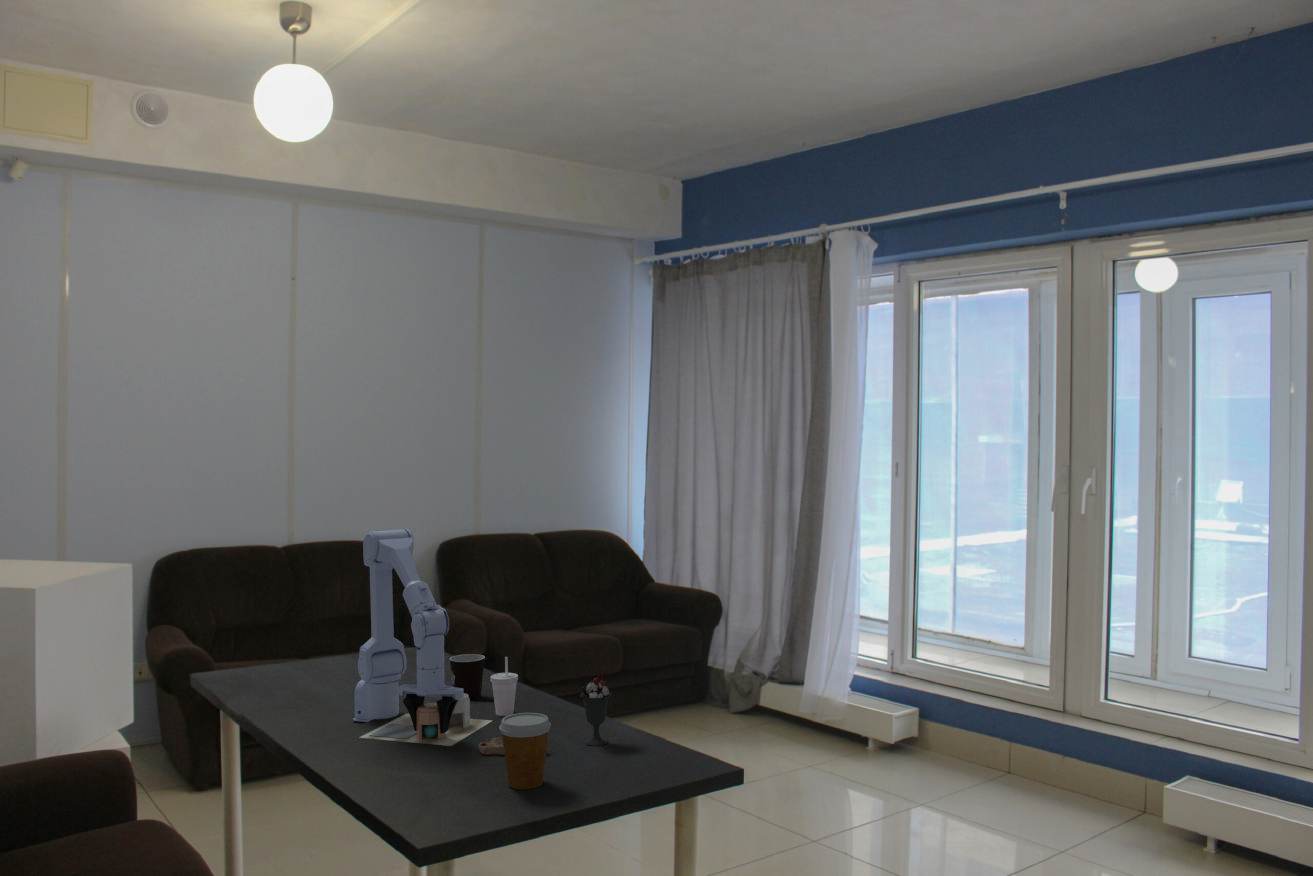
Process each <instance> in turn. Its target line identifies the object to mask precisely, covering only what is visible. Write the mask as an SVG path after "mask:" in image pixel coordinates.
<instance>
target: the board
mask: <svg viewBox="0 0 1313 876" xmlns="http://www.w3.org/2000/svg"><path fill="white" fill-rule="evenodd" d="M492 722H493V720H492V719H491V720H489V719H477V718H470V726H468V727H466V728H463V723H452V724H449V727H448V731H447V732H446V737H445V738H443V739H441V740H438V734H437V735H436V736H435V737H433V738H429V737H427V736H426V735H424V736H422V741H419V740H418V739H417V731H414V727H413V723H412V719H411V717H410V714H409V713H405V714H403V715H401V716H398V717H397V718H394V719H393V720H391V721H389V722H387V723H385V724H382V725H381V726H378V727H377V728H375V729H373V730H371V731H369V732H367V733H365V734H363V735H361V736H359V738H358V739H367V740H368V739H370V740H381V741H391V742H392V741H393V742H400V743H401V742H403V743H412V744H413V743H415V744H425V745H437V746H445V747H446V746H447V747H453V746H454V745H456V744H457V743H459V742H461V741H462V740H464V739H465V738H467V737H468V736H470V735H472V734H473V733H475V732H477V731H479V730H480V729H482V728H484V727H485V726H486V725H488V724H490V723H492Z"/></svg>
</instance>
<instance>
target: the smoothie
mask: <svg viewBox="0 0 1313 876" xmlns="http://www.w3.org/2000/svg"><path fill="white" fill-rule="evenodd" d="M508 660H509V659H508V656H505V657H504V661H505V662H504V665H505V666H504V667H505V668H504V670H505V671H504V672H499V673H494V674H492V675H491V676H490V682H491V684H492V685H491V687H492V693H493V694H492V695H493V700H494V709H495V715H496V716H499V717H506V716H508V715H512V714H514V710H515V702H516V701H515V700H516V691H517V684H518V683H517V682H518V680H519V675H518V673H513V672H509V670H508V669H509V668H508V667H509V666H508V665H509V664H508V663H509V662H508Z"/></svg>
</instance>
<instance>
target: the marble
mask: <svg viewBox="0 0 1313 876" xmlns="http://www.w3.org/2000/svg"><path fill="white" fill-rule="evenodd" d="M437 733H438V727H437V725H436V724H433V725H426V726H425V728H424V734H425V735H426V736H427V737H429V738H433V737H435V736H436V735H437Z"/></svg>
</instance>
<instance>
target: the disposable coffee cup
mask: <svg viewBox="0 0 1313 876" xmlns="http://www.w3.org/2000/svg"><path fill="white" fill-rule="evenodd" d="M551 727H552V725H551V722H550V721H549V717H548V716H547V715H546V714H544V713H537V712H520V713H519V712H518V713H513V714H512V715H508V716H503V718H502V719H501V722H500V725H499V727H498V728H499V731H500V733H501V736H502V738H503V746H504V753H505V755H504V759H505V760H504V761H505V767H506V775H507V782H508V783H507V784H508V786H509V787H510V788H513V789H514V790H515V789H516V790H530V789H531V790H532V789H534V788H535V789H536V788H538V787H541V785H543V784H544V783H543V782H544V781H543V780H544V774H545V773H544V772H545V763H546V755H547V746H548V740H549V739H548V737H549V732H550V728H551Z"/></svg>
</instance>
